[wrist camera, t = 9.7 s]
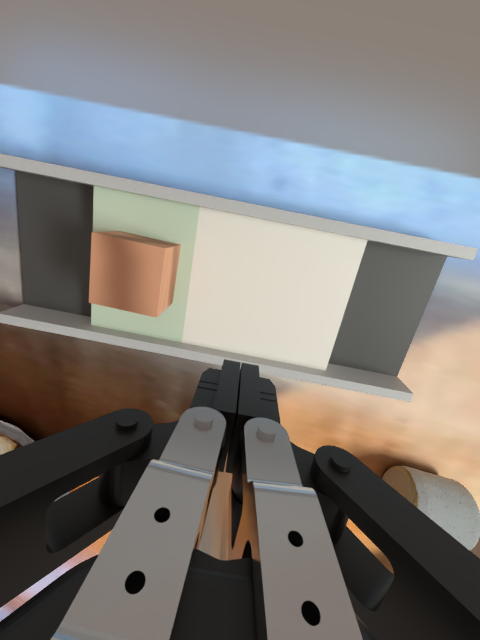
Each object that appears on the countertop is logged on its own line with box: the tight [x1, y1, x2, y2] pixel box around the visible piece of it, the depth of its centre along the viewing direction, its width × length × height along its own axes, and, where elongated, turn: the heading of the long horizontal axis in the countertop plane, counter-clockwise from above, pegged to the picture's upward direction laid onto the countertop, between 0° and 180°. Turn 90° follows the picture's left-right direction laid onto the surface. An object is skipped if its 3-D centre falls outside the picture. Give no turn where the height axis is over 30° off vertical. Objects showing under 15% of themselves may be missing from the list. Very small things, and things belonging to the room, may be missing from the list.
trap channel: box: [0, 154, 478, 402], centre depth 29 cm, size 44×16×4 cm, turn 79°
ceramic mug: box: [382, 466, 480, 551], centre depth 35 cm, size 11×8×8 cm
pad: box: [91, 186, 200, 343], centre depth 30 cm, size 10×14×2 cm
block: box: [89, 231, 181, 318], centre depth 26 cm, size 6×6×5 cm
